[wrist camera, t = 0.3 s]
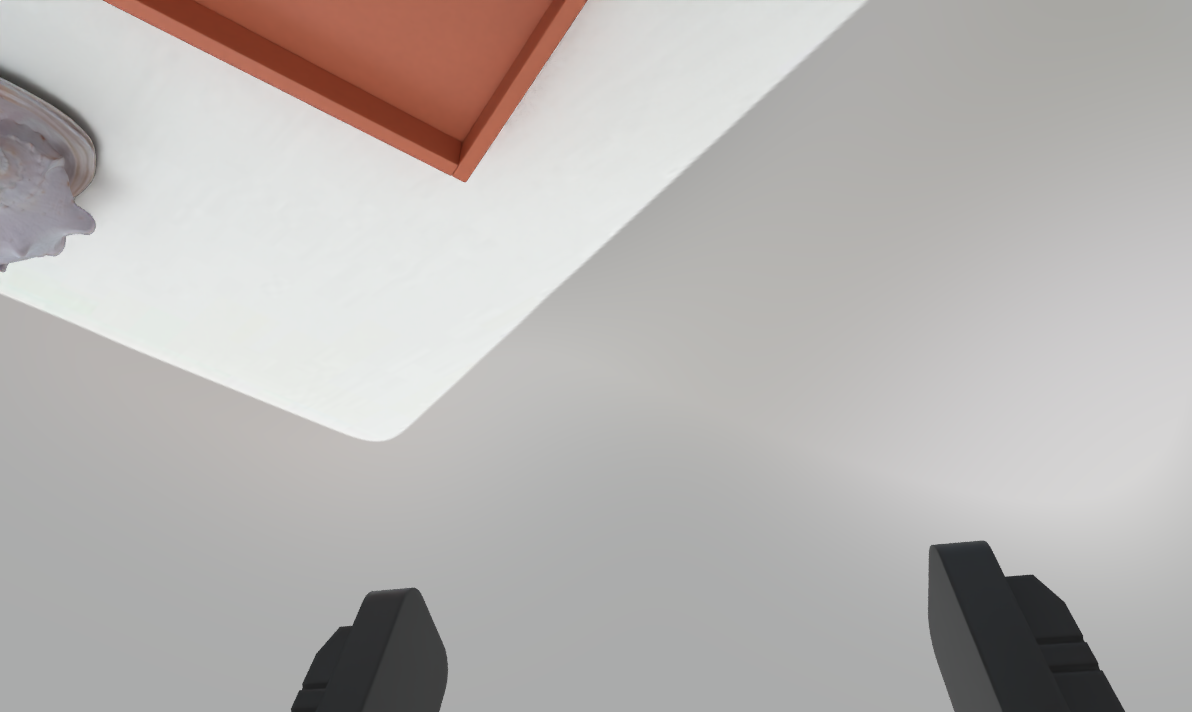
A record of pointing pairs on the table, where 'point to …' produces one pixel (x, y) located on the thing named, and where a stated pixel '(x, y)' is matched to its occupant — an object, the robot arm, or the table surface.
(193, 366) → the table surface
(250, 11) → the red tray
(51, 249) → the seashell
